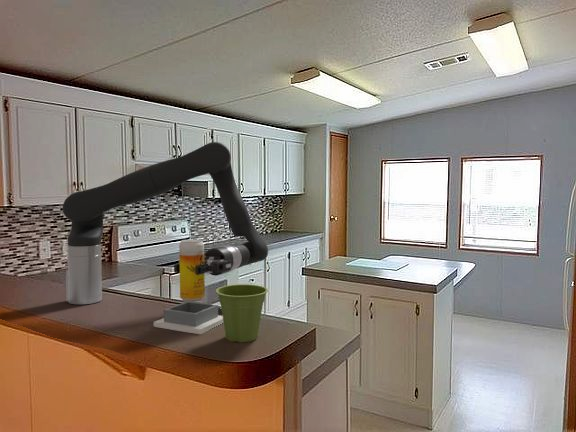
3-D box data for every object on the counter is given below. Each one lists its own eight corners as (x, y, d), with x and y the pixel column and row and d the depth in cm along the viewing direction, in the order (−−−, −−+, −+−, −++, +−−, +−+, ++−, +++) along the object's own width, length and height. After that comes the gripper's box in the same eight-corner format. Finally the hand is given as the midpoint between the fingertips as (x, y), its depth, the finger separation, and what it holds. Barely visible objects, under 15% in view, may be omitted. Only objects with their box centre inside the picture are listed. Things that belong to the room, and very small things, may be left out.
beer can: (199, 303, 108) (198, 242, 107) (176, 301, 109) (174, 241, 108) (208, 297, 114) (207, 239, 113) (186, 296, 115) (185, 239, 114)
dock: (153, 326, 109) (153, 309, 109) (184, 314, 120) (183, 299, 120) (200, 334, 103) (200, 316, 103) (227, 321, 114) (227, 305, 114)
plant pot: (204, 340, 99) (204, 290, 99) (239, 327, 109) (239, 282, 109) (244, 350, 93) (245, 298, 92) (277, 336, 102) (278, 288, 102)
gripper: (201, 245, 127) (162, 252, 111) (245, 247, 121) (210, 256, 105) (201, 271, 127) (162, 282, 112) (245, 274, 121) (210, 287, 106)
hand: (186, 269), depth 109 cm, fingers closed on beer can, 6 cm apart
